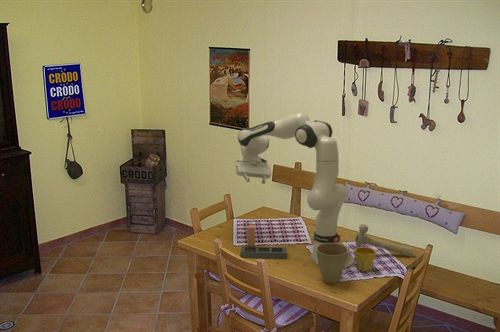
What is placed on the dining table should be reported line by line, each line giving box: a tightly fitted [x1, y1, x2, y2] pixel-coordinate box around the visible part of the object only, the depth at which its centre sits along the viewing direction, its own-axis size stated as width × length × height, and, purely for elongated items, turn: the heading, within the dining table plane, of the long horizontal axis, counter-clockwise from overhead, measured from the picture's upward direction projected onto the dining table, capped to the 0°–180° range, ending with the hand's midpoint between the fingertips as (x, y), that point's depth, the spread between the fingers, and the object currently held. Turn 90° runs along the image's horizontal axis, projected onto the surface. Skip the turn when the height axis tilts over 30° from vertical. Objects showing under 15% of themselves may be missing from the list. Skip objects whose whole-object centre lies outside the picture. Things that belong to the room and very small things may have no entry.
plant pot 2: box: [354, 246, 377, 272], centre depth 271 cm, size 10×10×10 cm
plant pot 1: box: [316, 243, 349, 284], centre depth 258 cm, size 15×15×16 cm
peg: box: [246, 224, 256, 247], centre depth 295 cm, size 4×4×12 cm
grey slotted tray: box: [240, 245, 288, 260], centre depth 286 cm, size 24×8×3 cm, turn 88°
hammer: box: [354, 223, 414, 258], centre depth 287 cm, size 16×5×30 cm
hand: (256, 182), depth 294 cm, fingers open, 8 cm apart
